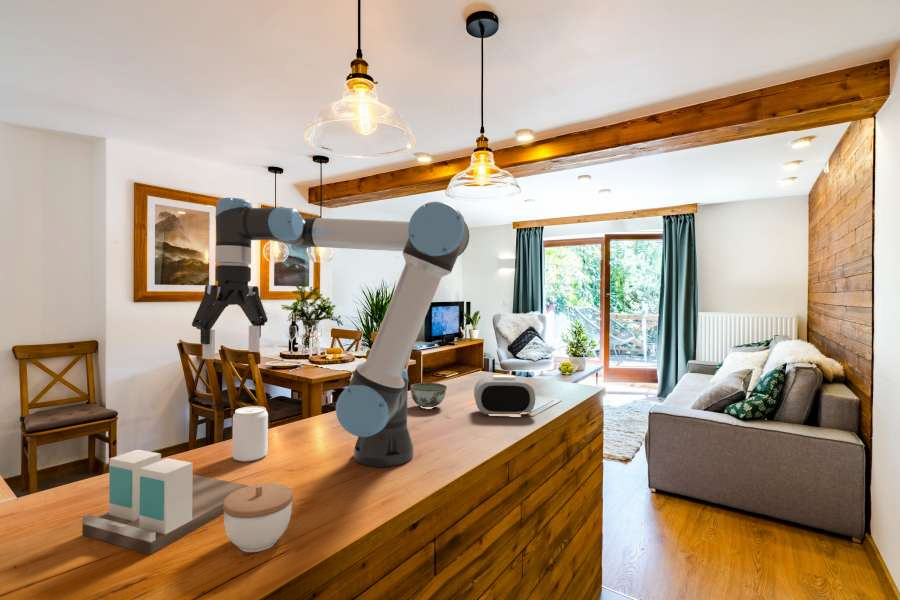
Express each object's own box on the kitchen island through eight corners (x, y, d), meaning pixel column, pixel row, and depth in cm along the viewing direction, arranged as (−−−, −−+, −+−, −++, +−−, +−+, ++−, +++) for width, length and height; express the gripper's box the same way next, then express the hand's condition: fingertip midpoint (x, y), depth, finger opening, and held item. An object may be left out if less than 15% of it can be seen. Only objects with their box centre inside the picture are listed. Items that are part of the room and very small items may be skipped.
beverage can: (254, 464, 108) (254, 415, 108) (225, 461, 110) (225, 412, 110) (273, 452, 116) (274, 406, 116) (246, 450, 118) (246, 404, 118)
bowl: (405, 411, 159) (405, 388, 159) (414, 402, 173) (414, 381, 173) (442, 413, 157) (443, 390, 157) (449, 404, 170) (449, 383, 170)
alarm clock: (475, 417, 153) (476, 378, 153) (473, 410, 162) (474, 373, 162) (535, 418, 153) (536, 379, 153) (530, 411, 163) (530, 374, 162)
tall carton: (137, 502, 84) (137, 449, 84) (160, 508, 82) (161, 453, 82) (107, 515, 79) (108, 459, 79) (131, 521, 77) (132, 463, 77)
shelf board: (254, 496, 91) (254, 480, 91) (150, 555, 71) (150, 534, 71) (194, 484, 97) (194, 469, 97) (82, 535, 76) (82, 516, 76)
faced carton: (166, 513, 80) (167, 458, 80) (192, 520, 78) (192, 462, 78) (137, 528, 75) (138, 468, 75) (164, 535, 73) (164, 474, 73)
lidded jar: (237, 526, 80) (238, 474, 80) (299, 524, 81) (299, 473, 81) (210, 562, 69) (211, 502, 69) (281, 560, 70) (282, 500, 70)
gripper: (259, 268, 118) (258, 348, 119) (173, 261, 95) (172, 361, 95) (282, 268, 116) (281, 349, 116) (200, 261, 92) (199, 363, 93)
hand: (232, 355), depth 106 cm, fingers open, 13 cm apart
